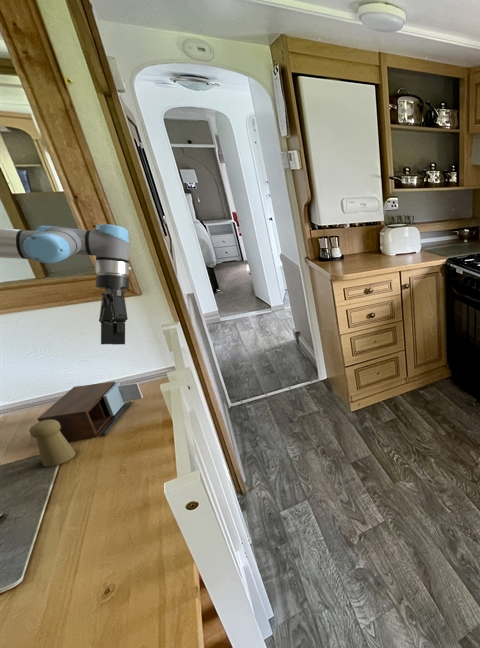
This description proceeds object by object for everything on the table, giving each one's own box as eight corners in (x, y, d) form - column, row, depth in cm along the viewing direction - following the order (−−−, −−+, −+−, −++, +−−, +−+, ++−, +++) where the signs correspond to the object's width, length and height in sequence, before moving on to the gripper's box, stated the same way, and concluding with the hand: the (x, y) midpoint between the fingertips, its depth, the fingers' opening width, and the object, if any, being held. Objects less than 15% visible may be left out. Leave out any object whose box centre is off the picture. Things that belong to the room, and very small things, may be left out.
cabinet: (49, 444, 102) (37, 418, 99) (84, 410, 118) (73, 386, 115) (105, 435, 107) (95, 409, 103) (131, 403, 122) (123, 380, 119)
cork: (36, 464, 95) (17, 428, 91) (64, 449, 101) (48, 414, 97) (53, 468, 94) (35, 432, 90) (81, 453, 100) (66, 418, 96)
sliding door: (110, 416, 113) (102, 396, 111) (123, 401, 121) (116, 382, 119) (133, 412, 115) (126, 393, 113) (144, 398, 123) (138, 379, 121)
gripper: (140, 273, 112) (140, 344, 112) (117, 281, 127) (117, 344, 126) (106, 269, 106) (106, 344, 106) (86, 278, 120) (86, 344, 120)
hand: (112, 344), depth 116 cm, fingers open, 13 cm apart
